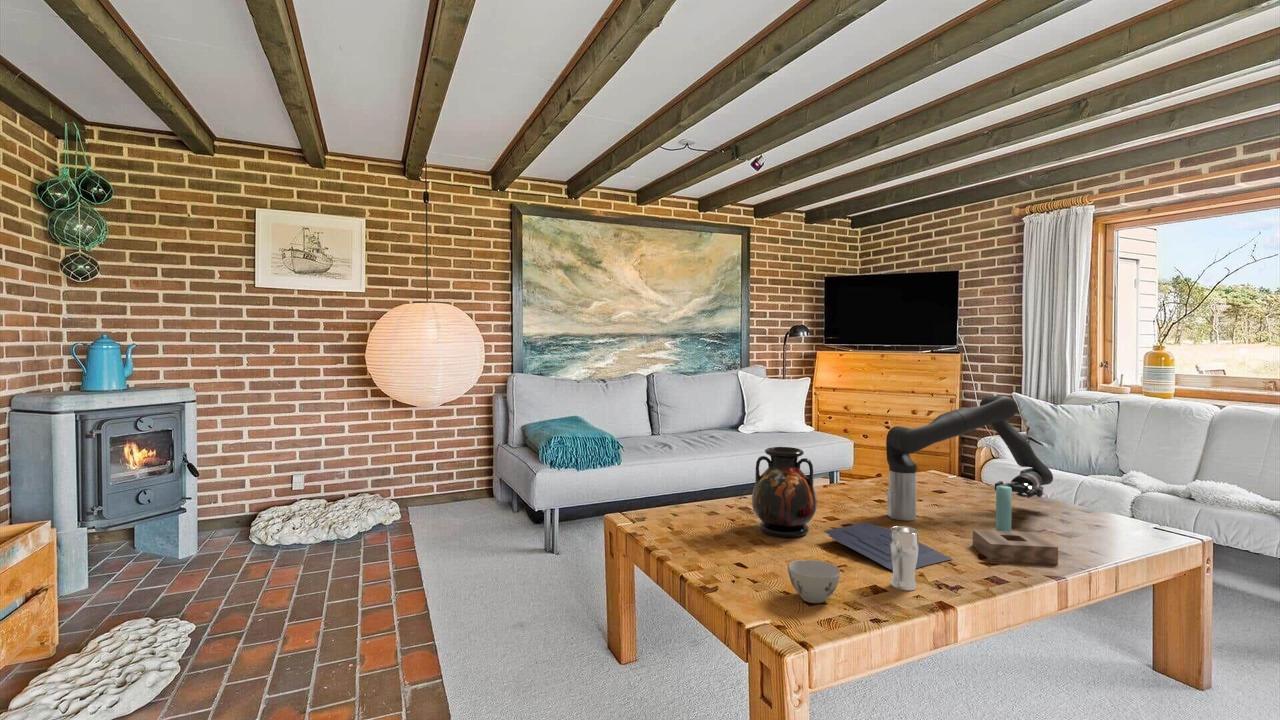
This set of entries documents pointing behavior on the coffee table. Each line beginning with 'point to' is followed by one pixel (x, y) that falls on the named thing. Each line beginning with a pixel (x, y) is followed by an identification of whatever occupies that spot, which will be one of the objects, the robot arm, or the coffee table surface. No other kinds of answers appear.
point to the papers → (879, 544)
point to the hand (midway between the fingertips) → (1013, 492)
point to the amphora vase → (784, 494)
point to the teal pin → (1003, 508)
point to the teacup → (813, 579)
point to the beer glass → (904, 557)
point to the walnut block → (1015, 547)
